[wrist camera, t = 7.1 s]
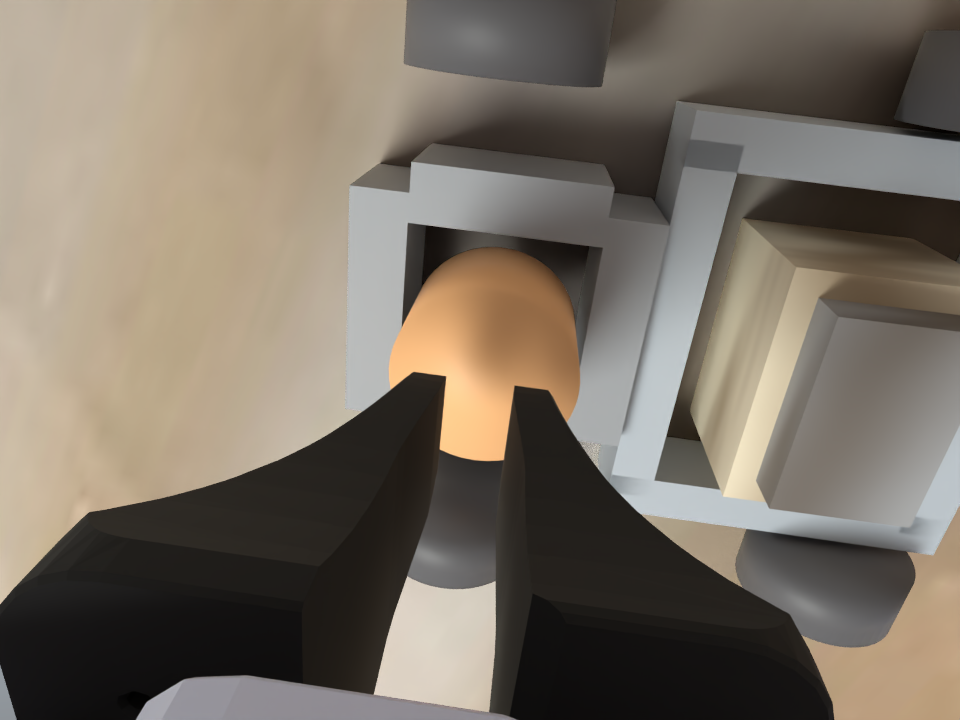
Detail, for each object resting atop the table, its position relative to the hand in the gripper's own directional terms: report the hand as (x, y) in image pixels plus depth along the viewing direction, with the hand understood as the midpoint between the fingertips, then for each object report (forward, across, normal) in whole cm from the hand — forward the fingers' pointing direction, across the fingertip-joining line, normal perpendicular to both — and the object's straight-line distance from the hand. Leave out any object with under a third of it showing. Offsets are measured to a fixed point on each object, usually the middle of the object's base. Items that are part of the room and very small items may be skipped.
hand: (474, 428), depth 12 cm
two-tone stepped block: (+8, -8, 0) cm, 12 cm away
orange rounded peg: (+6, 0, 0) cm, 6 cm away
